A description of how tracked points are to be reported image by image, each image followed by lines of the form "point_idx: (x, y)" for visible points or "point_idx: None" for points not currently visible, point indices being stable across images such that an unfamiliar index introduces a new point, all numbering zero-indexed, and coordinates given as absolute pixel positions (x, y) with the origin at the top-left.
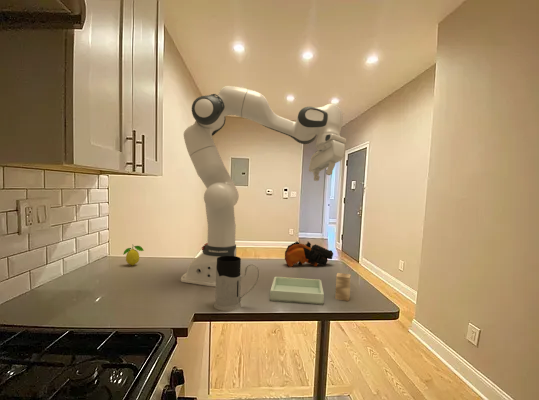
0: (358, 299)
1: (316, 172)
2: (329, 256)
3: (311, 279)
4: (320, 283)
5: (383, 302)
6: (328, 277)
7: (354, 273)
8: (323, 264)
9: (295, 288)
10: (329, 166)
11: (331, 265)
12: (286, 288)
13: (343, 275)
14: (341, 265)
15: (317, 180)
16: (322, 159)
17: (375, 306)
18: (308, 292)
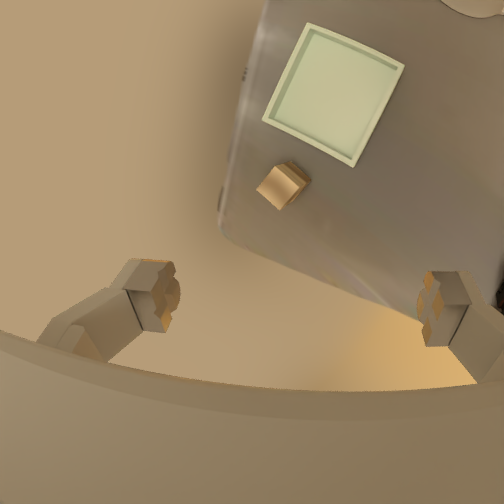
0: None
1: (492, 370)
2: None
3: (361, 145)
4: (327, 149)
5: (252, 241)
6: (423, 239)
7: None
8: (501, 291)
9: (362, 102)
10: (82, 302)
11: None
12: (367, 82)
13: (276, 187)
14: None
15: (427, 294)
16: (178, 461)
17: (240, 213)
18: (278, 93)
